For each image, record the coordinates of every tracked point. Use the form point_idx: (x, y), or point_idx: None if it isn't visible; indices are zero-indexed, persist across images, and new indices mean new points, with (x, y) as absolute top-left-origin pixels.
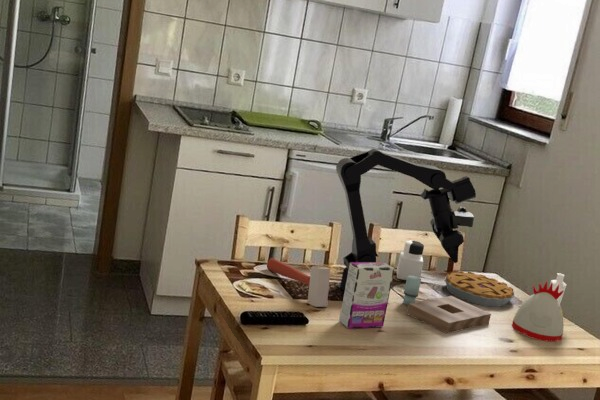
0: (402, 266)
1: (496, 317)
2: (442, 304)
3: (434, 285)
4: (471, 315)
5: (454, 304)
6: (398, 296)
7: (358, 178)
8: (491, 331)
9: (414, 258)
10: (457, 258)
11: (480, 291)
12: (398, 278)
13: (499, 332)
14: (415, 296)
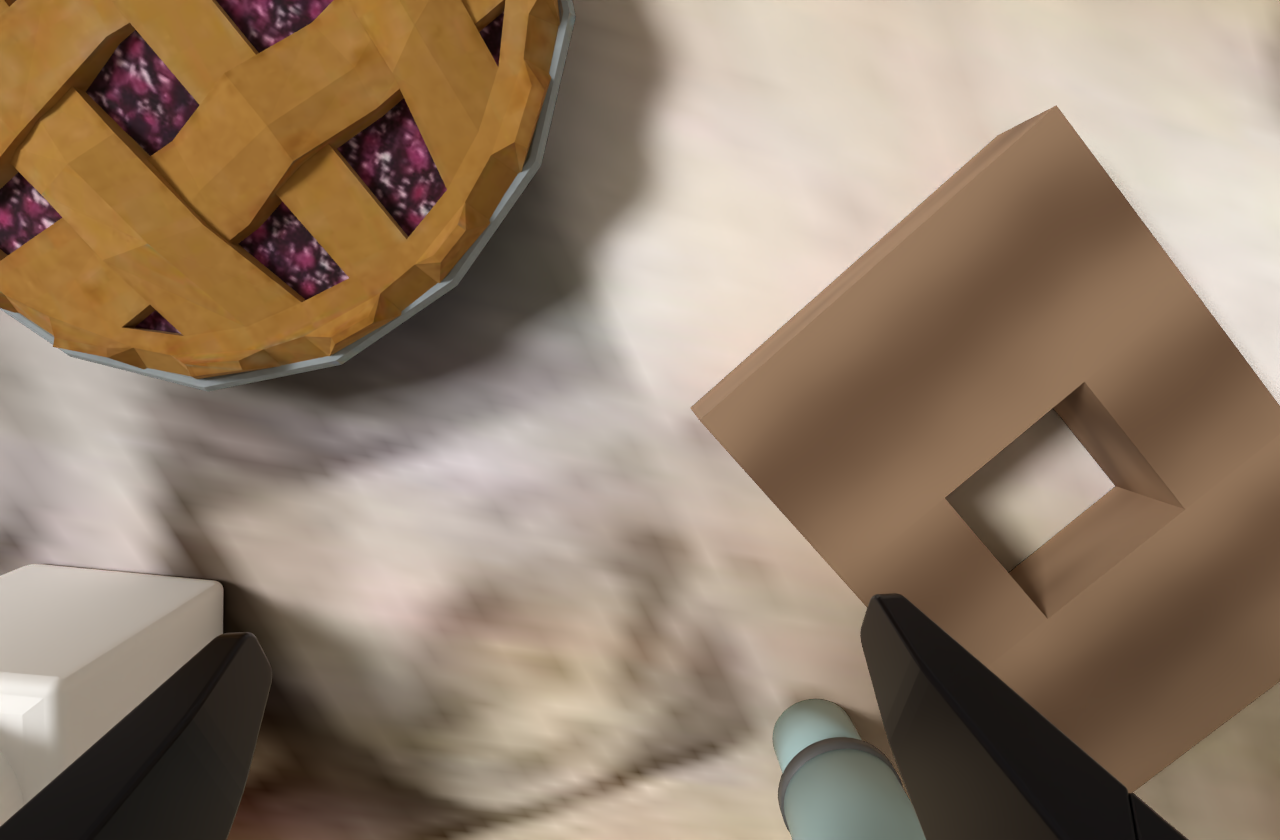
0: None
1: (808, 5)
2: (982, 555)
3: (206, 443)
4: (1171, 333)
5: (937, 439)
6: (675, 789)
7: None
8: (1165, 157)
9: (16, 791)
10: (969, 660)
11: (476, 60)
12: None
13: (1166, 85)
14: (891, 765)
